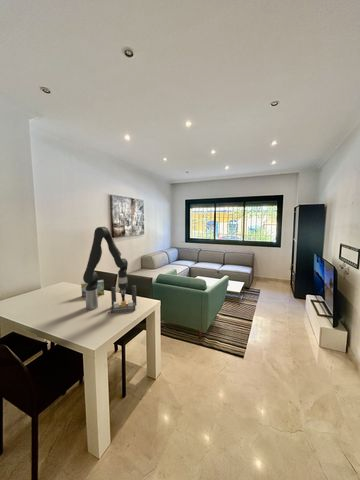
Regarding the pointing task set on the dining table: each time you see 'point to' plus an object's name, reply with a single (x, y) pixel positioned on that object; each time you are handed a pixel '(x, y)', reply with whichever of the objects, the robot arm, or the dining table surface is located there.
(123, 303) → the paddle
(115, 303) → the paddle
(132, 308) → the breaker strip
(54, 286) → the dining table surface
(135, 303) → the post
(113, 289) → the post
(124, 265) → the robot arm
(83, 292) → the snack box
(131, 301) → the paddle
